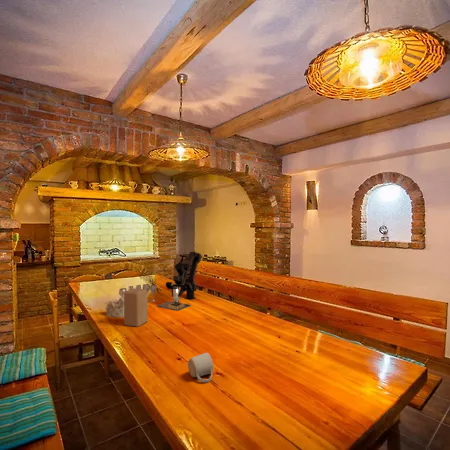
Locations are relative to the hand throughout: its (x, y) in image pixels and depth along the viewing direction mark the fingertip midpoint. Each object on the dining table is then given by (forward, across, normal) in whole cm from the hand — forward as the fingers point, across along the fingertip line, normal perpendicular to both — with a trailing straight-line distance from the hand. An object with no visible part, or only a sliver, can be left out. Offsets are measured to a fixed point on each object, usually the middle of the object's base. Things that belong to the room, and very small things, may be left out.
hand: (175, 296), depth 202 cm
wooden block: (+30, -10, -17) cm, 36 cm away
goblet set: (+1, -34, +12) cm, 36 cm away
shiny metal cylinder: (+4, 0, +6) cm, 7 cm away
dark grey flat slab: (+2, -4, +10) cm, 11 cm away
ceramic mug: (+62, +47, -50) cm, 93 cm away
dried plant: (-18, -44, +31) cm, 57 cm away
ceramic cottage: (+19, -31, -6) cm, 37 cm away
